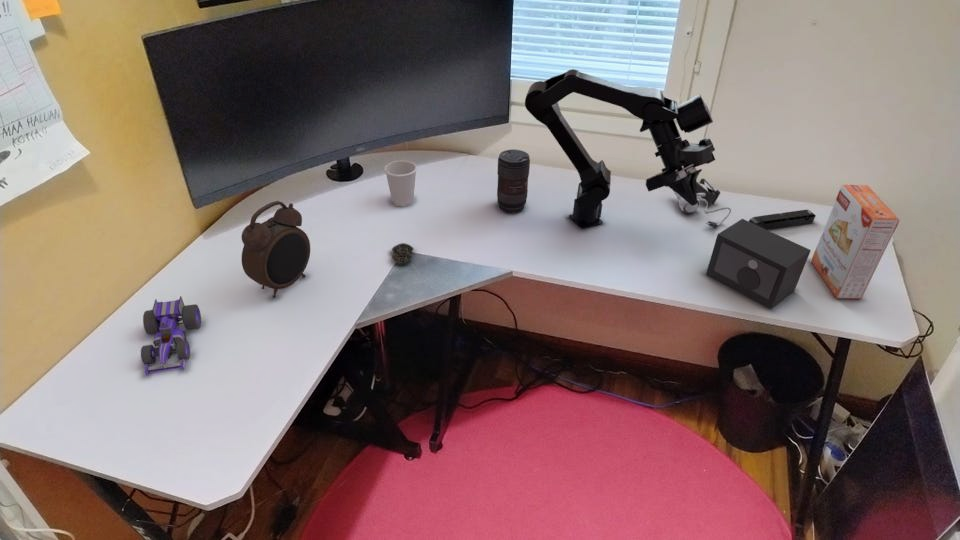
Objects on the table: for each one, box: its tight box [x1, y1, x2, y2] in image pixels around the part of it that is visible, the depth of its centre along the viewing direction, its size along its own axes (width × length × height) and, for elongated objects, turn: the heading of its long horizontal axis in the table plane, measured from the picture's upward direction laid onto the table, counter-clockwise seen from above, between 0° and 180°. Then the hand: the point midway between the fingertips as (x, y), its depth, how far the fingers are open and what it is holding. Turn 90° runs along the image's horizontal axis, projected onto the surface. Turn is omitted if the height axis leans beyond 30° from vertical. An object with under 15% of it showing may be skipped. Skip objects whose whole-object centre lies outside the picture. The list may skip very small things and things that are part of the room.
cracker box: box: [810, 184, 901, 300], centre depth 133 cm, size 14×6×21 cm, turn 178°
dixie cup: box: [384, 159, 418, 207], centre depth 162 cm, size 8×8×10 cm
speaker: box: [705, 218, 811, 310], centre depth 135 cm, size 16×10×11 cm, turn 40°
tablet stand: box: [748, 209, 817, 231], centre depth 157 cm, size 18×3×3 cm, turn 104°
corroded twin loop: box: [391, 242, 414, 265], centre depth 144 cm, size 5×8×1 cm, turn 3°
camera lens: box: [496, 149, 531, 214], centre depth 159 cm, size 8×8×15 cm
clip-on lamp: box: [672, 178, 732, 228], centre depth 161 cm, size 12×6×18 cm
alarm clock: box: [241, 200, 311, 299], centre depth 130 cm, size 15×7×20 cm, turn 148°
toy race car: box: [140, 295, 202, 376], centre depth 118 cm, size 10×15×6 cm, turn 13°
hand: (694, 204), depth 142 cm, fingers closed
